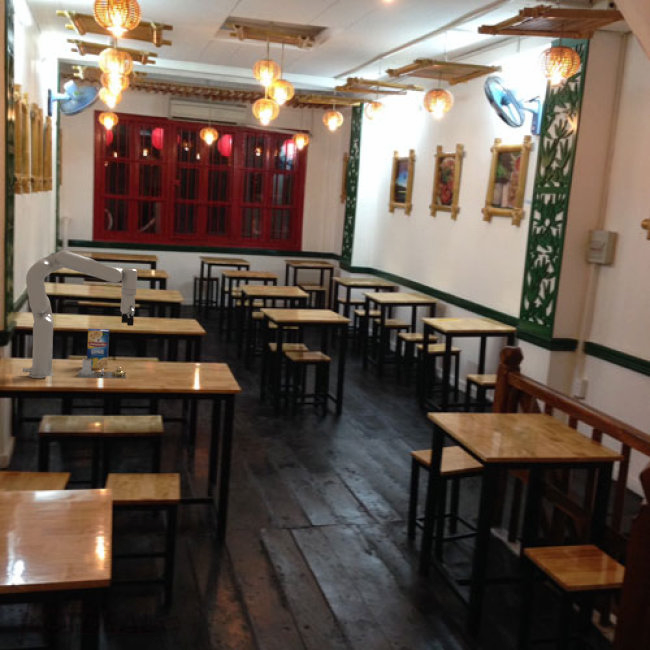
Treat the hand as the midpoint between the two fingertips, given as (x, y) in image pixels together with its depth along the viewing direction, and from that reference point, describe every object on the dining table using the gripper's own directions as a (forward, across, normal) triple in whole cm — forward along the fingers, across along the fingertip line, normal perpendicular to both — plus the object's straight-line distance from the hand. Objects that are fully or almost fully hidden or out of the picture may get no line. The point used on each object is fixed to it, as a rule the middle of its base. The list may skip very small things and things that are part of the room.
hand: (127, 324), depth 408 cm
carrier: (+29, -3, -11) cm, 31 cm away
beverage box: (+29, -24, -8) cm, 38 cm away
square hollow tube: (+28, -5, -19) cm, 34 cm away
